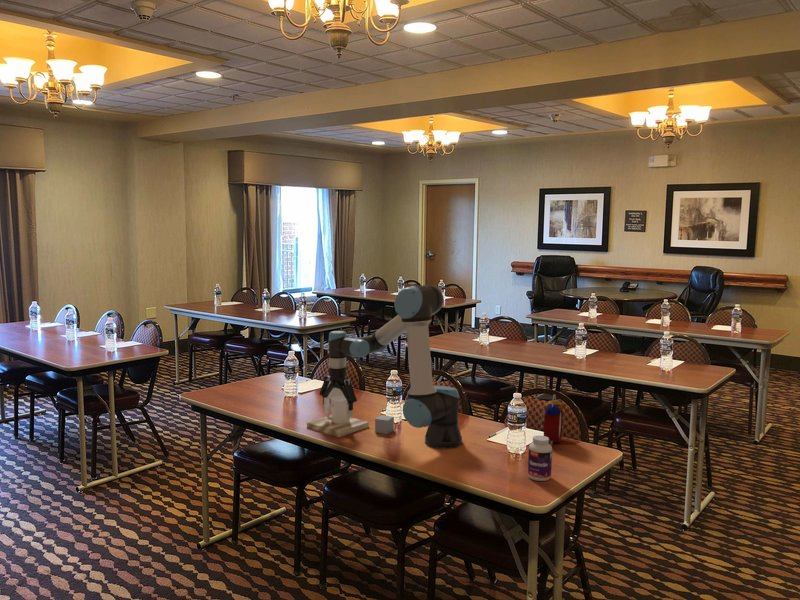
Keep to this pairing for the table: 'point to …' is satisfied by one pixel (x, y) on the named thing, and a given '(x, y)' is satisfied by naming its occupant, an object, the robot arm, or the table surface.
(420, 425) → the robot arm
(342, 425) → the birch slab
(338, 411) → the mug
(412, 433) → the table surface
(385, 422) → the grey cube
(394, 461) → the table surface
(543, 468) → the pill bottle
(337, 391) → the cup
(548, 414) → the red spray bottle
